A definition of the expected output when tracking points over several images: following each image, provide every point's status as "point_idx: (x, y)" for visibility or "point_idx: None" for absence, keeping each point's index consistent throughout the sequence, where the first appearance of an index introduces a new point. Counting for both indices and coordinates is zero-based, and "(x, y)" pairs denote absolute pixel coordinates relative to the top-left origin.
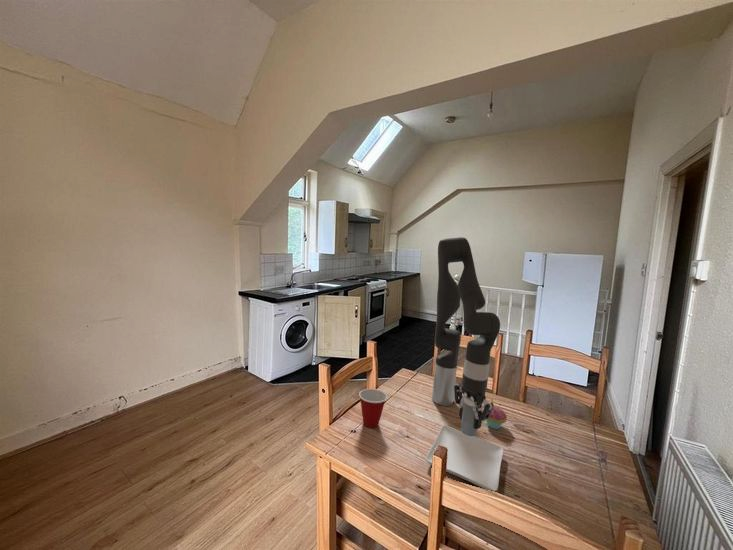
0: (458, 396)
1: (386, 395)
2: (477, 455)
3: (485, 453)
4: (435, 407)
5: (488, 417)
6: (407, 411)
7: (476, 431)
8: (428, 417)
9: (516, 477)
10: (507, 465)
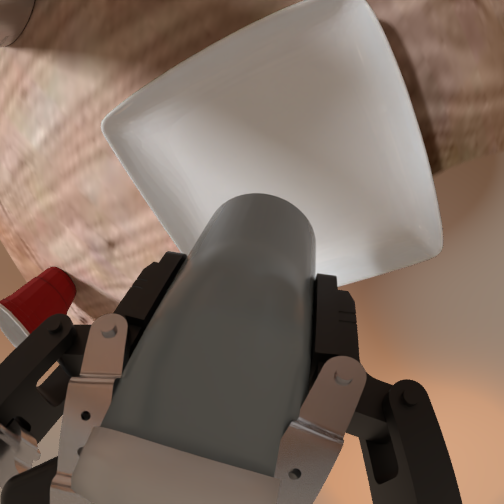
0: (57, 408)
1: (8, 314)
2: (298, 105)
3: (311, 62)
4: (24, 54)
5: (427, 407)
6: (23, 163)
7: (315, 251)
8: (50, 113)
9: (451, 84)
10: (401, 43)
